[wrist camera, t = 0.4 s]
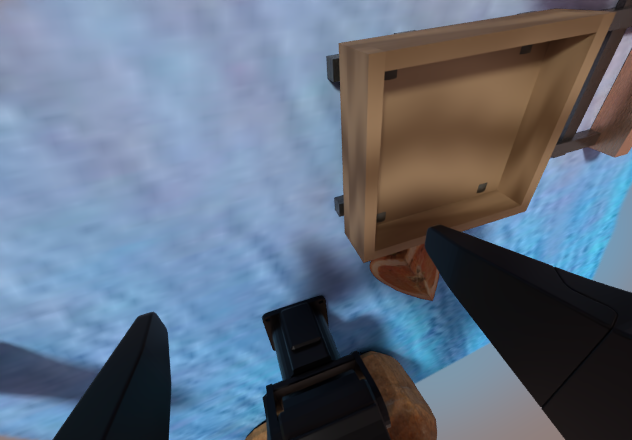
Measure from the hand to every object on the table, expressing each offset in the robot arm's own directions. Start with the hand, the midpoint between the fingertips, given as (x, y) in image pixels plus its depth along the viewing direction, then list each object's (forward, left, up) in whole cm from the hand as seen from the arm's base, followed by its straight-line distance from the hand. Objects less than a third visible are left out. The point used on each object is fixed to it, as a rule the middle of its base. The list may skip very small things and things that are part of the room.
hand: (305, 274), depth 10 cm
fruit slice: (-14, -11, -12) cm, 22 cm away
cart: (-2, -12, -11) cm, 17 cm away
